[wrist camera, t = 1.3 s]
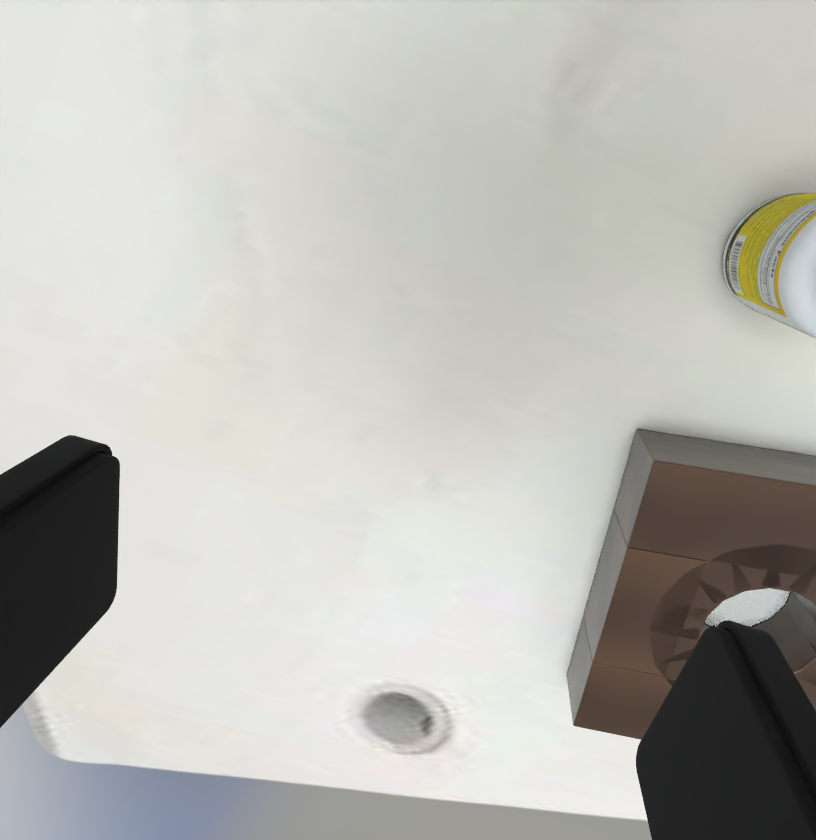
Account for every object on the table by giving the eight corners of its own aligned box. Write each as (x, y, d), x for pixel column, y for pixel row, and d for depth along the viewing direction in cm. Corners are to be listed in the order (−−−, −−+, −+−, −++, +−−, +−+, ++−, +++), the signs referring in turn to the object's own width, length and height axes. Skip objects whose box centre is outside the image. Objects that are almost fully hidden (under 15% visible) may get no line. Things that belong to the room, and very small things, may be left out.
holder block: (636, 428, 32) (653, 460, 28) (950, 476, 30) (1012, 516, 27) (566, 675, 39) (572, 726, 35) (819, 724, 37) (853, 783, 34)
